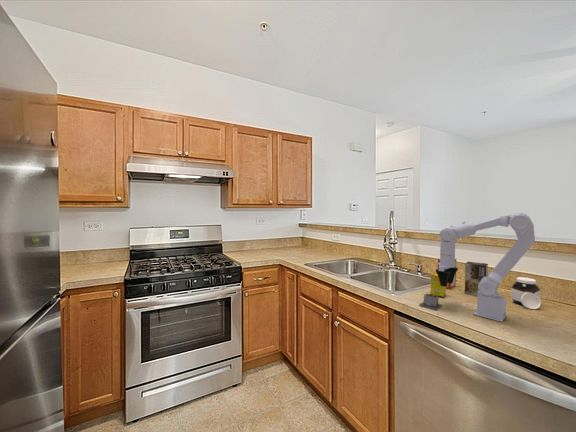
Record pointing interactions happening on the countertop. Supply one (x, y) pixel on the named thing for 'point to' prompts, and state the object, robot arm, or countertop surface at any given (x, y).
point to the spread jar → (526, 293)
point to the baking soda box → (449, 285)
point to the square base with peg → (429, 306)
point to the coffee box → (474, 276)
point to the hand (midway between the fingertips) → (446, 284)
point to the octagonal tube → (431, 300)
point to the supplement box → (437, 286)
